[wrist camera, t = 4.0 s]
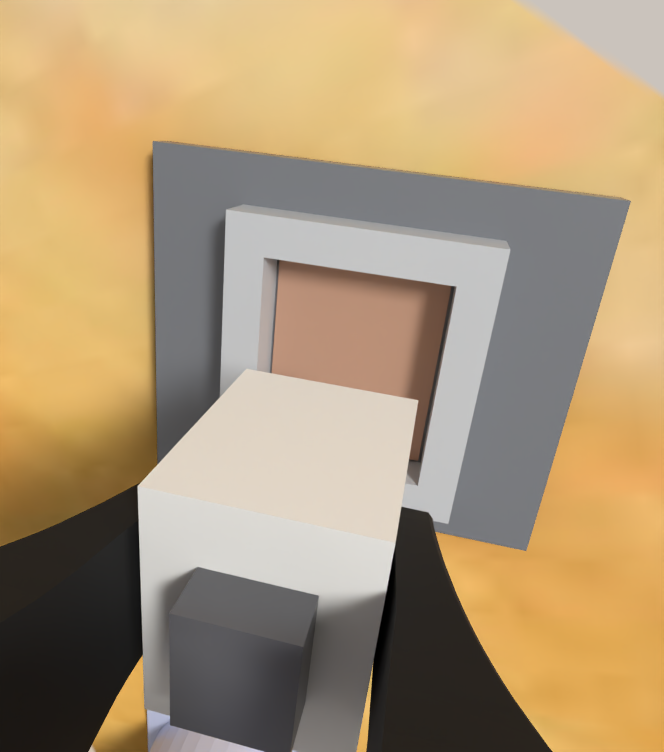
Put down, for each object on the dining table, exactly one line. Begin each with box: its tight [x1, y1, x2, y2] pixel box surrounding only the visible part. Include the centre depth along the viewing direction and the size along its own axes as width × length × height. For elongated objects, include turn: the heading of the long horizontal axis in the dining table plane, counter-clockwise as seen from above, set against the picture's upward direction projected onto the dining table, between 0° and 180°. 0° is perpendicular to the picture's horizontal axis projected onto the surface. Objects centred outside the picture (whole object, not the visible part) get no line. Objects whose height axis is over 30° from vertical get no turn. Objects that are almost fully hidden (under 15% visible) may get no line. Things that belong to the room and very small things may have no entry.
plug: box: [138, 369, 418, 752], centre depth 11 cm, size 5×4×6 cm
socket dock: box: [153, 141, 631, 551], centre depth 19 cm, size 12×14×2 cm
